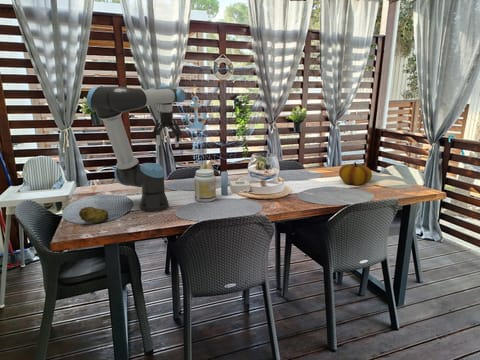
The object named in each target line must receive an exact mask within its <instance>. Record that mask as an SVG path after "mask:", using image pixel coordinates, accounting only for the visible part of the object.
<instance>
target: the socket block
mask: <svg viewBox="0 0 480 360" xmlns="http://www.w3.org/2000/svg"><path fill="white" fill-rule="evenodd" d="M249 187H251V188H252V184H251V183H250V181H249V180H247V179H244V180H242V179H241V180H229V189H230V191H231V193H232V194H235V193H236V192H240V191H243V190H245V189H247V188H249ZM240 193H241V192H240Z"/></svg>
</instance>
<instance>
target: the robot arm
mask: <svg viewBox="0 0 480 360" xmlns="http://www.w3.org/2000/svg"><path fill="white" fill-rule="evenodd" d="M185 100H186V92H185V90H184V89H183V88H172V86H171V85H164V84H163V85H161V84H160V85H159V86H158V88H153V87H151V88H148V89H142V88H140V87H139V88H137V87H127V86H125V87H124V86H118V85H117V86H106V85H104V86H103V85H100V86H94V87H92V88H90V89H89V90H88V93H87V95H86V105H87V107H88V109H89V110H91V112H94V113H96V116H97V118H98V119H99V120H101V121H102V122H103V126H104V128H105V131H106V134H107V136H108V139H109V141H110V144H111V147H112V150H113V153H114V155H115V158H116V161H117V162H116V164H115V168H114V178H115V180H116V182H118V183H119V184H120V185H123V186H126V187H134V188H135V187H136V188H141V198H140V202H139V209H140V210H141V211H142V212H149V213H152V212H154V213H155V212H161V211H164V210H167V209H169V207H170V204H169V200H168V198H167V195H166V192H165V191H166V190H165V173H164V167H163V166H162V165H161V164H158V163H155V162H143V163H141V164H140V161H139V159H138V158H137V157H135V155H134V153H133V150H132V147H131V143H130V141H129V138H128V135H127V131H126V128H125V125H124V123H123V120H122V114H123V113H125V112H132V111H135V110H141V109H143V108H145V107H147V106H156V105H159V111H160V112H159V115H160V116H159V117H160V118H159V119H157V118H156V120H155V125H154V128H153V131H152V134H153V135H155V140H156V146H157V147H158V146H161V133H162V131H163V129H164V128H169V129H171V131H172V133H173V134H174V135H175V136H174V144H175V145H174V146H175V148H178V147H180V145H179V144H180V143H179V142H180V136H182V135H183V133H182V131H181V128H180V126H179V123H178V120H177V119H174V120H173V117H174V112H173V104H174V103H179V104H180V103H184V102H185Z"/></svg>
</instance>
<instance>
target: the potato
mask: <svg viewBox="0 0 480 360" xmlns="http://www.w3.org/2000/svg"><path fill="white" fill-rule="evenodd" d="M78 215H79V217H80V220H82V221H84V222H88V223H95V224H97V223H101V222H104V221H105V220H107V219H108V217H109V211H108V210H106V209H103V208H95V207H93V206H84V207H83V208H81V209H80V210H79V211H78Z"/></svg>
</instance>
